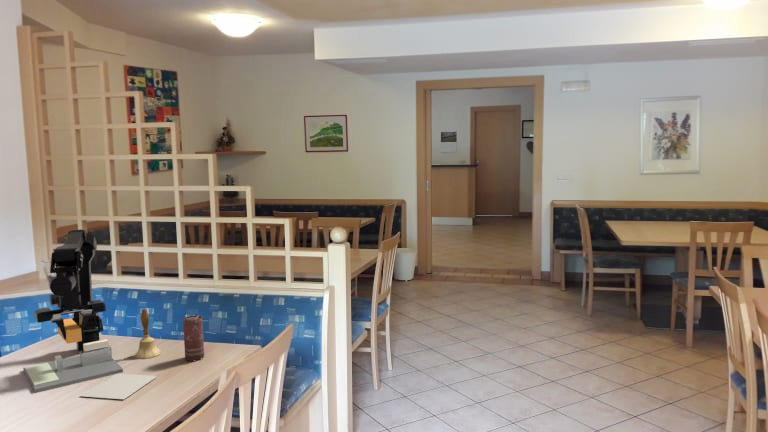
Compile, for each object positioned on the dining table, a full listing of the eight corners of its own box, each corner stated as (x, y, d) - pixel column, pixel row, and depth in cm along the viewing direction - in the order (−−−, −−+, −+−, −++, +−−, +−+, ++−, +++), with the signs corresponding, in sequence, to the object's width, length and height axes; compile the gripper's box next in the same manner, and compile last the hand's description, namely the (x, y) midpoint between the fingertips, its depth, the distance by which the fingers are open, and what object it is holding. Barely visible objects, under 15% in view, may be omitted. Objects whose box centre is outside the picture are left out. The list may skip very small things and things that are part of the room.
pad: (47, 363, 187) (47, 362, 187) (59, 380, 173) (59, 379, 173) (24, 368, 183) (24, 367, 183) (34, 385, 169) (34, 384, 169)
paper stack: (186, 380, 176) (185, 377, 176) (137, 417, 151) (137, 415, 151) (116, 375, 180) (116, 373, 180) (58, 411, 155) (58, 409, 155)
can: (208, 355, 195) (206, 315, 194) (196, 362, 189) (194, 320, 188) (193, 353, 197) (191, 314, 196) (181, 360, 191) (179, 319, 190)
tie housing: (109, 357, 192) (108, 344, 191) (112, 360, 189) (111, 347, 189) (55, 369, 182) (54, 356, 181) (57, 372, 179) (56, 358, 179)
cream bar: (106, 345, 190) (106, 339, 190) (108, 346, 189) (108, 340, 189) (83, 349, 186) (83, 343, 186) (84, 351, 184) (84, 345, 184)
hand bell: (136, 360, 192) (133, 313, 190) (133, 353, 199) (130, 308, 197) (162, 356, 196) (160, 310, 194) (158, 348, 203) (156, 304, 201)
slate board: (104, 353, 199) (104, 350, 199) (123, 371, 182) (122, 368, 182) (23, 370, 184) (23, 367, 183) (35, 392, 167) (35, 389, 167)
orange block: (71, 330, 189) (71, 318, 188) (82, 340, 178) (81, 328, 178) (58, 332, 186) (57, 320, 186) (67, 343, 175) (66, 330, 175)
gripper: (95, 279, 189) (98, 325, 191) (29, 288, 177) (33, 337, 179) (104, 285, 180) (107, 333, 182) (35, 295, 169) (39, 347, 170)
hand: (72, 337), depth 179 cm, fingers closed on orange block, 4 cm apart
